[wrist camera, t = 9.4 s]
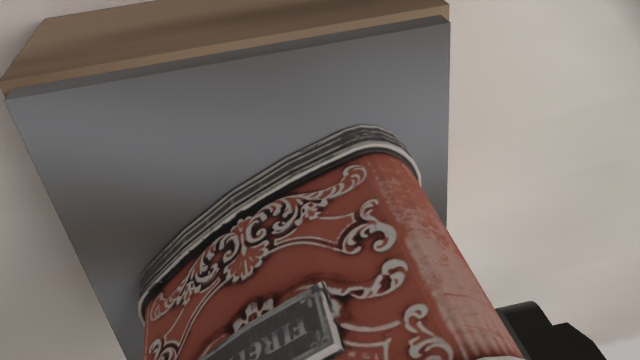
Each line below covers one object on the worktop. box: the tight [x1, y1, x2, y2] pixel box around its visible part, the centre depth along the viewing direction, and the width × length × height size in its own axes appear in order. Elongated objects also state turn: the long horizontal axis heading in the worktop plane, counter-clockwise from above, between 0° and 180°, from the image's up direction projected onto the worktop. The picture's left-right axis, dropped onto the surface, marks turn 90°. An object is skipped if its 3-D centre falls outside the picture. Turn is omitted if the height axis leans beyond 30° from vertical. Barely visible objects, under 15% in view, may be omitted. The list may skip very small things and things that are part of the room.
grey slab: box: [0, 0, 450, 360], centre depth 17 cm, size 10×10×5 cm
